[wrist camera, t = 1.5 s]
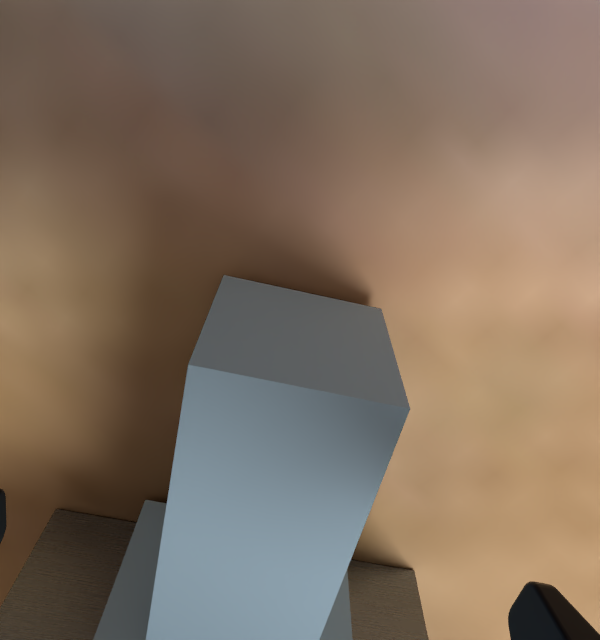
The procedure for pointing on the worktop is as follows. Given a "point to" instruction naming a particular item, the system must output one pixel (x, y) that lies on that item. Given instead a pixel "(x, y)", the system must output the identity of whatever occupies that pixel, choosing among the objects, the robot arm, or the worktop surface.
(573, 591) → the worktop surface
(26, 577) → the block
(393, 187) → the worktop surface
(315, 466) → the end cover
